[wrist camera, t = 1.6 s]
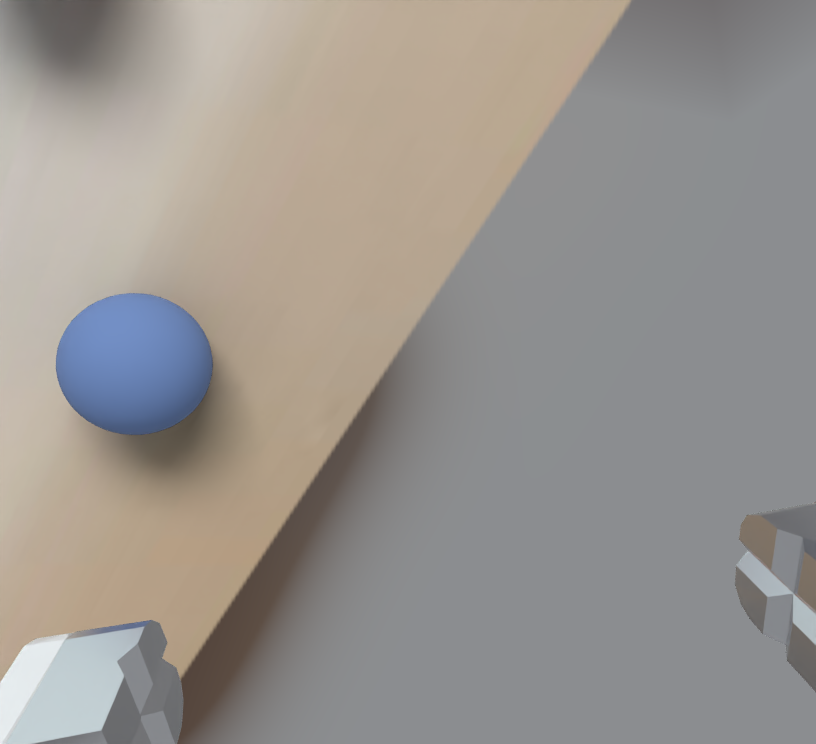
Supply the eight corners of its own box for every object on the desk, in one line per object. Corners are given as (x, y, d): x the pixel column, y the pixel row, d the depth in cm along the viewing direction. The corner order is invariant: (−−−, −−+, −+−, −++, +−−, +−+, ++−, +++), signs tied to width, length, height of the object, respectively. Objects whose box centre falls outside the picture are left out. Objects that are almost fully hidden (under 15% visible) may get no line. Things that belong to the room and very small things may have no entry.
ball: (100, 407, 28) (47, 466, 22) (75, 284, 26) (10, 315, 20) (228, 398, 29) (209, 453, 23) (213, 279, 27) (188, 307, 21)
